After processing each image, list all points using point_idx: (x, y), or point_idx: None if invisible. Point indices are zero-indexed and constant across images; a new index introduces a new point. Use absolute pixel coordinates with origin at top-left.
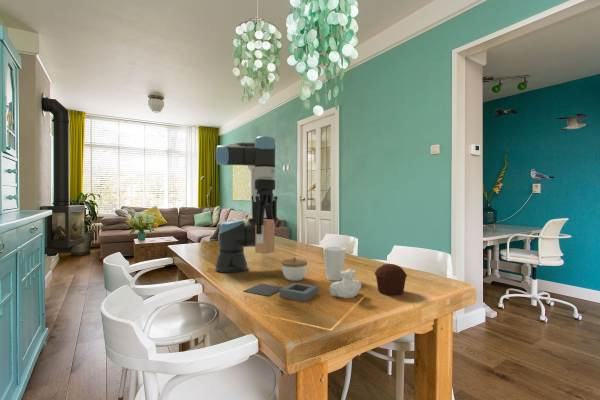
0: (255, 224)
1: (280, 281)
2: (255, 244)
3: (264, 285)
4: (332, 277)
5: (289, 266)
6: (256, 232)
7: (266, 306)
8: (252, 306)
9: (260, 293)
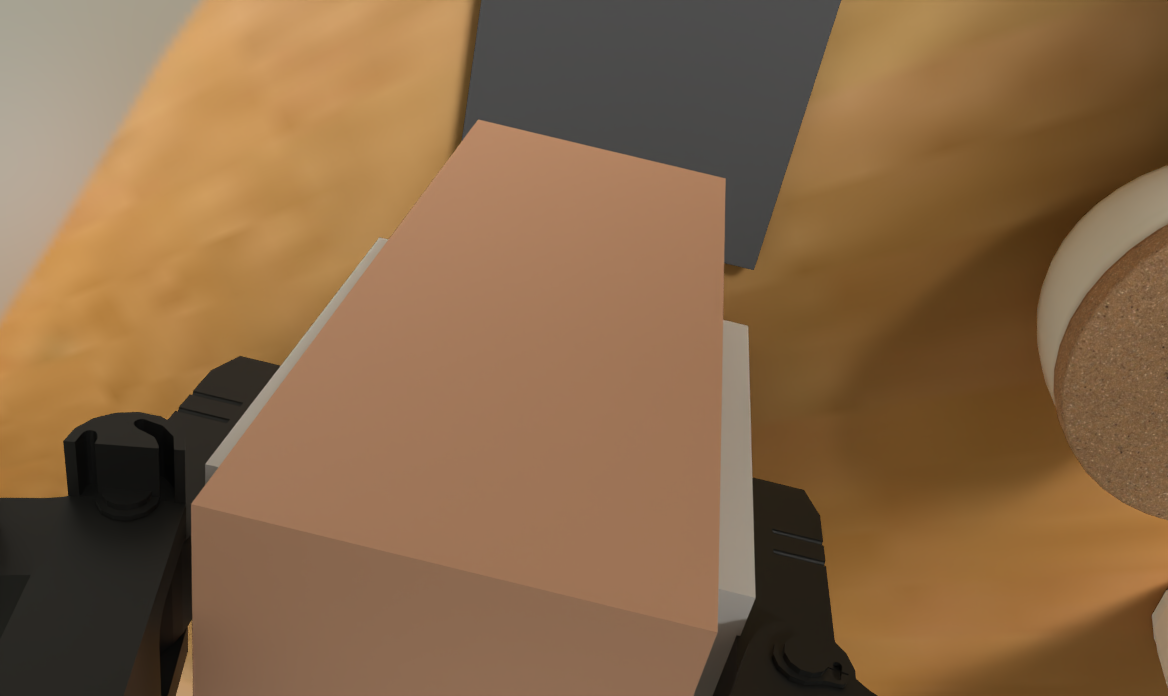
0: (106, 472)
1: (1076, 121)
2: (440, 174)
3: (771, 28)
4: (1164, 629)
5: (1064, 337)
6: (206, 379)
7: (266, 241)
8: (212, 132)
9: (483, 97)
